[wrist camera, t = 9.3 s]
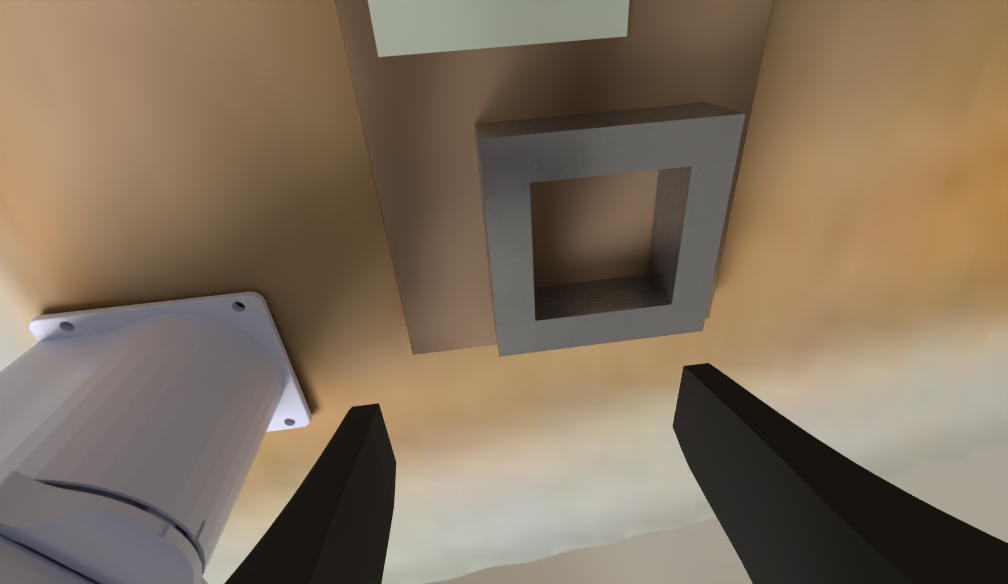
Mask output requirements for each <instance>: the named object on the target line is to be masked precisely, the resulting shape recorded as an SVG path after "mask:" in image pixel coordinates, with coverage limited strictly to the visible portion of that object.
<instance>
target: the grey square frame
mask: <svg viewBox="0 0 1008 584" xmlns="http://www.w3.org/2000/svg"><path fill="white" fill-rule="evenodd" d="M744 119H745V113H741V112H738V111H735V110H731V109H728V108H724V107H721V106H717V105H714V104H710V103H707V102H702V103H692V104H681V105H670V106H659V107H649V108H638V109H627V110H617V111H606V112H595V113H585V114H574V115H563V116H553V117H542V118H531V119H521V120H510V121H499V122H489V123H478V124H474V127H475V137H476V147H477V157H478V167H479V178H480V188H481V198H482V208H483V218H484V229H485V239H486V249H487V259H488V270H489V280H490V290H491V300H492V310H493V321H494V327H495V333H496V339H497V345H498V351H499V356H507V355H514V354H522V353H530V352H538V351H546V350H554V349H562V348H570V347H578V346H586V345H594V344H602V343H610V342H618V341H626V340H634V339H642V338H650V337H658V336H665V335H673V334H681V333H689V332H697V331H703V327H704V322H705V317H706V311H707V306H708V301H709V296H710V291H711V286H712V281H713V276H714V271H715V266H716V261H717V256H718V251H719V246H720V240H721V235H722V230H723V225H724V220H725V215H726V210H727V205H728V200H729V195H730V190H731V185H732V180H733V174H734V169H735V164H736V159H737V154H738V149H739V144H740V139H741V134H742V129H743V124H744ZM650 170H658V180H657V189H656V198H655V207H654V216H653V225H652V234H651V244H650V253H649V262H648V271H647V274H644V275H635V276H627V277H618V278H610V279H601V280H593V281H584V282H576V283H567V284H559V285H550V286H541V287H534V276H533V251H532V226H531V201H530V183H533V182H543V181H553V180H563V179H572V178H582V177H592V176H602V175H611V174H621V173H631V172H641V171H650Z"/></svg>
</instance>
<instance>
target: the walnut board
mask: <svg viewBox="0 0 1008 584" xmlns="http://www.w3.org/2000/svg"><path fill="white" fill-rule="evenodd" d="M335 3H336V8H337V12H338V17H339V21H340V26H341V30H342V35H343V39H344V44H345V48H346V53H347V58H348V62H349V67H350V71H351V76H352V80H353V85H354V89H355V94H356V98H357V103H358V107H359V112H360V116H361V121H362V125H363V130H364V135H365V139H366V144H367V148H368V153H369V157H370V162H371V166H372V171H373V175H374V180H375V184H376V189H377V193H378V198H379V203H380V207H381V212H382V216H383V221H384V225H385V230H386V234H387V239H388V243H389V248H390V252H391V257H392V261H393V266H394V270H395V275H396V280H397V284H398V289H399V293H400V298H401V302H402V307H403V311H404V316H405V320H406V325H407V329H408V334H409V338H410V343H411V347H412V352H413V355H414V354H422V353H430V352H438V351H446V350H454V349H462V348H470V347H478V346H486V345H494V344H497V339H496V333H495V327H494V321H493V310H492V300H491V290H490V280H489V270H488V259H487V249H486V239H485V229H484V218H483V208H482V198H481V188H480V178H479V167H478V157H477V147H476V137H475V127H474V124H478V123H489V122H499V121H510V120H521V119H531V118H542V117H553V116H563V115H574V114H585V113H595V112H606V111H617V110H627V109H638V108H649V107H659V106H670V105H681V104H692V103H702V102H707V103H710V104H714V105H717V106H721V107H724V108H728V109H731V110H735V111H738V112H741V113H745V119H744V124H743V129H742V134H741V139H740V144H739V149H738V154H737V159H736V164H735V169H734V174H733V180H732V185H731V190H730V195H729V200H728V205H727V210H726V215H725V220H724V225H723V230H722V235H721V240H720V246H719V251H718V256H717V261H716V266H715V271H714V276H713V281H712V286H711V291H710V296H709V301H708V306H707V311H706V317H705V318H709V316H710V311H711V306H712V301H713V296H714V291H715V286H716V281H717V276H718V271H719V266H720V261H721V256H722V251H723V246H724V241H725V237H726V232H727V227H728V222H729V217H730V212H731V207H732V202H733V197H734V192H735V187H736V182H737V177H738V172H739V167H740V162H741V157H742V153H743V148H744V143H745V138H746V133H747V128H748V123H749V118H750V113H751V108H752V103H753V98H754V93H755V88H756V83H757V78H758V73H759V69H760V64H761V59H762V54H763V49H764V44H765V39H766V34H767V29H768V24H769V19H770V14H771V9H772V4H773V0H629V12H628V28H627V36H626V37H614V38H602V39H590V40H578V41H566V42H554V43H542V44H530V45H518V46H506V47H494V48H482V49H470V50H458V51H446V52H434V53H422V54H410V55H398V56H386V57H378V52H377V47H376V42H375V37H374V31H373V26H372V21H371V15H370V10H369V5H368V0H335ZM657 180H658V170H650V171H641V172H631V173H621V174H611V175H602V176H592V177H582V178H572V179H563V180H553V181H543V182H533V183H530V201H531V226H532V251H533V276H534V287H541V286H550V285H559V284H567V283H576V282H584V281H593V280H601V279H610V278H618V277H627V276H635V275H644V274H647V271H648V262H649V253H650V244H651V234H652V225H653V216H654V207H655V198H656V189H657Z"/></svg>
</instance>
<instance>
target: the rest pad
mask: <svg viewBox="0 0 1008 584" xmlns="http://www.w3.org/2000/svg"><path fill="white" fill-rule="evenodd" d="M368 5H369V10H370V15H371V21H372V26H373V31H374V37H375V42H376V47H377V52H378V57H386V56H398V55H410V54H422V53H434V52H446V51H458V50H470V49H482V48H494V47H506V46H518V45H530V44H542V43H554V42H566V41H578V40H590V39H602V38H614V37H626V36H627V28H628V12H629V0H368Z"/></svg>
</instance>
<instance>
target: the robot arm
mask: <svg viewBox="0 0 1008 584" xmlns="http://www.w3.org/2000/svg"><path fill="white" fill-rule="evenodd" d="M236 302H241V303H242V304H244V306H245V307H240V306H238V305H237V304H236ZM68 322H69V323H71V324H72V325H73V326H72V325H70V324H69V323H68ZM28 327H29V329H30V331H31V332H32V334H33V335H34V336H35V338H36V339H37V340H38V343H37V344H36V345H35V346H33V347H32V348H31V349H29V350H28V351H27V352H26V353H24V354H23V355H22V356H20V357H19V358H18V359H17V360H15V361H14V362H13V363H11V364H10V365H9V366H7V367H6V368H5V369H4V370H2V371H1V372H0V584H208V583H207V582H206V581H205V580H204V578H203V574H204V572H205V569H206V567H207V565H208V563H209V560H210V558H211V556H212V554H213V551H214V549H215V547H216V544H217V542H218V540H219V538H220V535H221V533H222V531H223V529H224V526H225V524H226V522H227V520H228V517H229V515H230V513H231V511H232V508H233V506H234V504H235V501H236V499H237V497H238V495H239V492H240V490H241V488H242V486H243V483H244V481H245V479H246V477H247V474H248V472H249V470H250V468H251V465H252V463H253V461H254V458H255V456H256V454H257V452H258V449H259V447H260V445H261V443H262V440H263V438H264V436H265V434H266V432H268V431H276V430H283V429H291V428H299V427H304V426H307V425H308V424H309V423H310V421H311V418H312V414H311V412H310V409H309V407H308V405H307V402H306V400H305V397H304V395H303V392H302V390H301V387H300V385H299V382H298V380H297V377H296V375H295V372H294V370H293V368H292V365H291V363H290V360H289V358H288V355H287V353H286V350H285V348H284V345H283V343H282V340H281V338H280V335H279V333H278V331H277V328H276V326H275V323H274V321H273V318H272V316H271V313H270V311H269V308H268V306H267V303H266V301H265V299H264V298H263V296H261V295H260V294H259V293H256V292H241V293H232V294H224V295H215V296H206V297H197V298H188V299H179V300H171V301H162V302H153V303H144V304H135V305H126V306H118V307H109V308H100V309H91V310H82V311H73V312H64V313H56V314H47V315H40V316H37V317H35V318H34V319H33V320H31V321H30V322H29V325H28ZM288 418H291V419H293V420H290V419H288ZM673 429H674V431H675V434H676V436H677V439H678V441H679V444H680V446H681V449H682V451H683V454H684V456H685V458H686V461H687V463H688V465H689V468H690V469H691V471H692V473H693V475H694V477H695V479H696V481H697V482H698V484H699V486H700V488H701V490H702V491H703V493H704V495H705V497H706V499H707V500H708V502H709V504H710V506H711V508H712V509H713V511H714V513H715V515H716V517H717V518H718V520H719V522H720V524H721V525H722V527H723V529H724V531H725V532H726V534H727V536H728V538H729V540H730V541H731V543H732V545H733V547H734V549H735V550H736V552H737V554H738V556H739V558H740V559H741V561H742V563H743V565H744V567H745V569H746V571H747V573H748V575H749V577H750V579H751V581H752V583H753V584H1008V543H1006V542H1004V541H1002V540H1000V539H998V538H996V537H993V536H991V535H989V534H987V533H985V532H983V531H981V530H979V529H977V528H975V527H973V526H971V525H969V524H967V523H965V522H963V521H961V520H959V519H957V518H955V517H953V516H951V515H949V514H947V513H945V512H943V511H941V510H939V509H937V508H935V507H933V506H931V505H929V504H927V503H926V502H924V501H922V500H920V499H918V498H916V497H914V496H912V495H911V494H909V493H907V492H905V491H903V490H901V489H900V488H898V487H896V486H895V485H893V484H891V483H889V482H887V481H886V480H884V479H882V478H880V477H878V476H877V475H875V474H873V473H871V472H870V471H868V470H866V469H865V468H863V467H861V466H860V465H858V464H856V463H855V462H853V461H851V460H850V459H848V458H847V457H845V456H843V455H842V454H840V453H839V452H837V451H835V450H834V449H832V448H831V447H829V446H827V445H826V444H824V443H823V442H821V441H820V440H818V439H817V438H815V437H813V436H812V435H810V434H809V433H807V432H806V431H804V430H803V429H801V428H800V427H798V426H797V425H796V424H794V423H793V422H791V421H790V420H788V419H787V418H785V417H784V416H782V415H781V414H780V413H778V412H777V411H775V410H774V409H772V408H771V407H770V406H768V405H767V404H765V403H764V402H763V401H761V400H760V399H758V398H757V397H756V396H754V395H753V394H751V393H750V392H749V391H747V390H746V389H744V388H743V387H742V386H740V385H739V384H738V383H736V382H735V381H733V380H732V379H731V378H729V377H728V376H726V375H725V374H724V373H722V372H721V371H719V370H718V369H716V368H715V367H714V366H712V365H711V364H709V363H705V364H697V365H689V366H684V367H683V372H682V378H681V383H680V389H679V394H678V400H677V405H676V411H675V416H674V422H673ZM395 477H396V460H395V457H394V453H393V450H392V447H391V443H390V440H389V436H388V433H387V430H386V426H385V423H384V419H383V416H382V412H381V409H380V406H379V404H371V405H363V406H355V407H352V408H351V409H350V410H349V411H348V413H347V414H346V416H345V417H344V419H343V421H342V422H341V424H340V426H339V427H338V429H337V430H336V432H335V434H334V435H333V437H332V438H331V440H330V442H329V443H328V445H327V446H326V448H325V449H324V451H323V452H322V454H321V456H320V457H319V459H318V460H317V462H316V463H315V465H314V466H313V468H312V469H311V471H310V472H309V474H308V475H307V476H306V478H305V479H304V481H303V482H302V484H301V485H300V487H299V488H298V490H297V491H296V493H295V494H294V495H293V497H292V498H291V500H290V501H289V502H288V504H287V505H286V506H285V508H284V509H283V510H282V512H281V513H280V514H279V516H278V517H277V518H276V520H275V521H274V522H273V524H272V525H271V526H270V528H269V529H268V531H267V532H266V533H265V535H264V536H263V537H262V538H261V540H260V541H259V542H258V543H257V545H256V546H255V547H254V548H253V550H252V551H251V552H250V554H249V555H248V556H247V557H246V558H245V560H244V561H243V562H242V563H241V564H240V566H239V567H238V568H237V569H236V570H235V572H234V573H233V574H232V575H231V576H230V577H229V579H228V580H227V581H226V582H225V583H224V584H381V582H382V576H383V570H384V564H385V558H386V552H387V546H388V540H389V534H390V528H391V522H392V515H393V509H394V496H395Z"/></svg>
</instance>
